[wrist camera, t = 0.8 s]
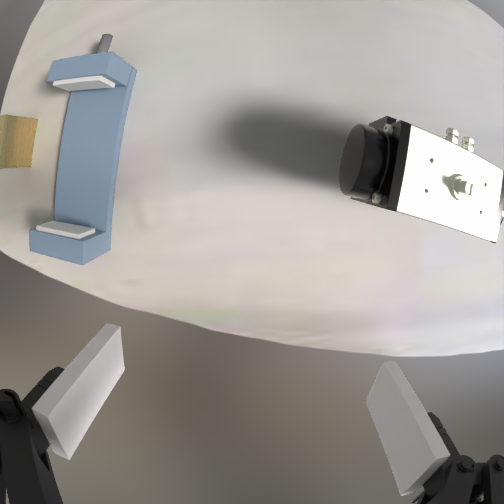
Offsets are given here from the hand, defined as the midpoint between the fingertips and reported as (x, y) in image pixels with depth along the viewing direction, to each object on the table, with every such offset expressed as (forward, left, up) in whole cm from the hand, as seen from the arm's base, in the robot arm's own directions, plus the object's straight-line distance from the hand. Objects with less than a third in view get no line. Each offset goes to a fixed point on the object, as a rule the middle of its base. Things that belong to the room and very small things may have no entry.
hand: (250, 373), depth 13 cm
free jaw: (-22, -26, -24) cm, 42 cm away
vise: (-9, -26, -26) cm, 37 cm away
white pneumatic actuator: (-13, +15, -26) cm, 33 cm away
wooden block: (-11, -41, -26) cm, 49 cm away
